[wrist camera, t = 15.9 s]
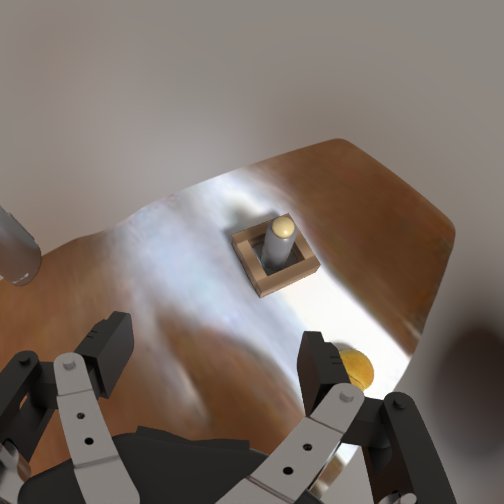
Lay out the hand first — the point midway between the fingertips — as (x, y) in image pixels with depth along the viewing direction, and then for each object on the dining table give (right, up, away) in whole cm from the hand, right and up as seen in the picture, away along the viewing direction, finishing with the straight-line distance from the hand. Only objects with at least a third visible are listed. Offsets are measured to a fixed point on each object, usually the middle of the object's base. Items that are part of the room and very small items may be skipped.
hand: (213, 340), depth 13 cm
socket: (+5, +3, +34) cm, 35 cm away
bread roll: (+15, -15, +26) cm, 34 cm away
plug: (+5, +3, +34) cm, 34 cm away
